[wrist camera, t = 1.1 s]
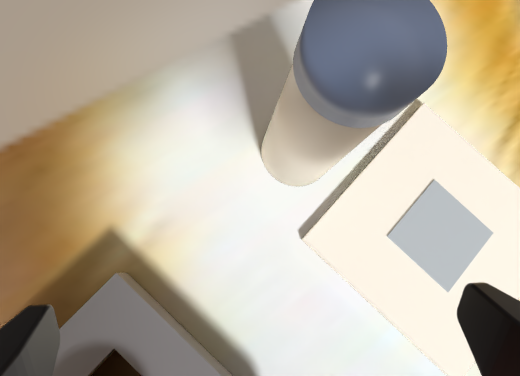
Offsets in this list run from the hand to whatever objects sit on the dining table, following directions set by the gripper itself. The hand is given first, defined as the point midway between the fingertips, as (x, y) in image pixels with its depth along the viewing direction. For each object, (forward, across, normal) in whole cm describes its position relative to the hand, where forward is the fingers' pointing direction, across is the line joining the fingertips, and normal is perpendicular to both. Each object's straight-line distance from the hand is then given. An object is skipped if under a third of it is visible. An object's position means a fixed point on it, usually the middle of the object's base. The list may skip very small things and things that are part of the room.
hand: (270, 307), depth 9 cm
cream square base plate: (+12, -11, +6) cm, 17 cm away
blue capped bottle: (+15, -4, +3) cm, 15 cm away
